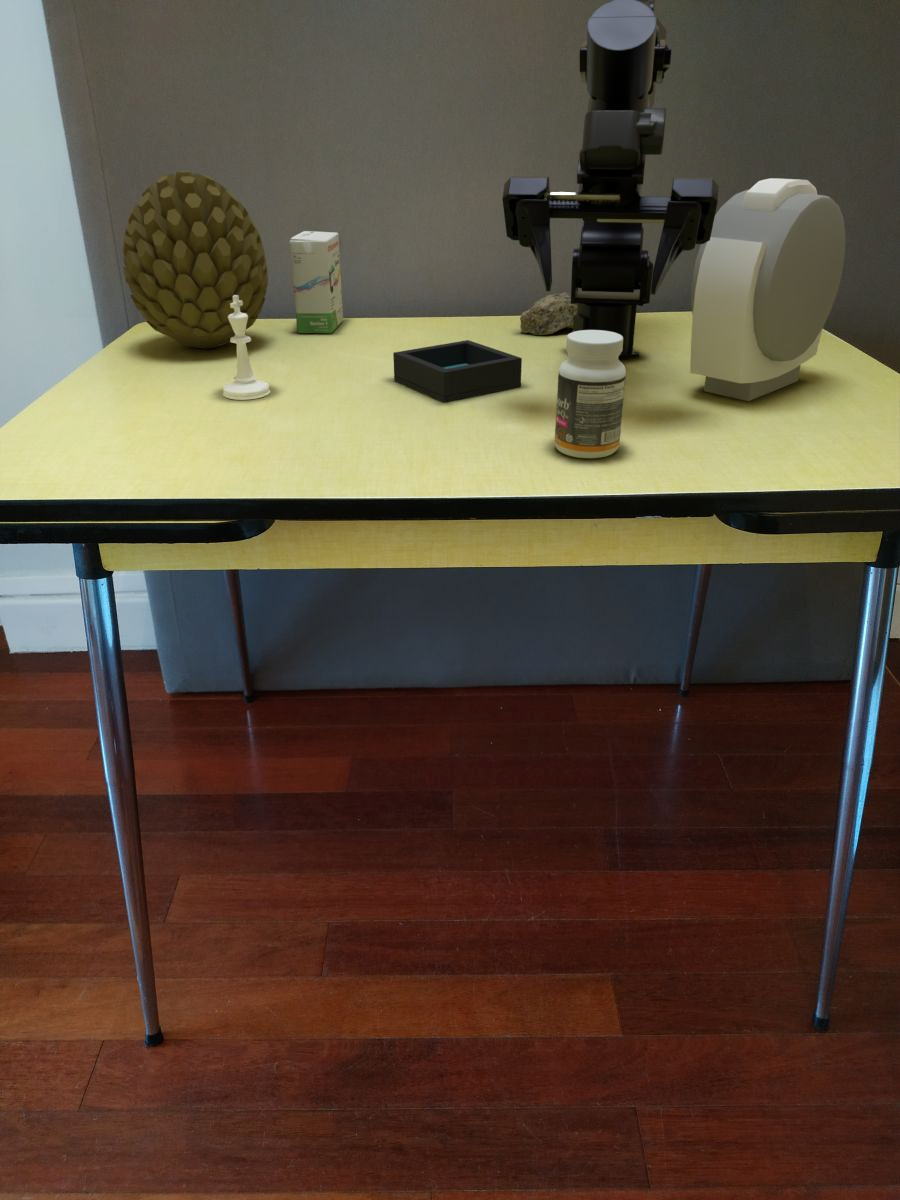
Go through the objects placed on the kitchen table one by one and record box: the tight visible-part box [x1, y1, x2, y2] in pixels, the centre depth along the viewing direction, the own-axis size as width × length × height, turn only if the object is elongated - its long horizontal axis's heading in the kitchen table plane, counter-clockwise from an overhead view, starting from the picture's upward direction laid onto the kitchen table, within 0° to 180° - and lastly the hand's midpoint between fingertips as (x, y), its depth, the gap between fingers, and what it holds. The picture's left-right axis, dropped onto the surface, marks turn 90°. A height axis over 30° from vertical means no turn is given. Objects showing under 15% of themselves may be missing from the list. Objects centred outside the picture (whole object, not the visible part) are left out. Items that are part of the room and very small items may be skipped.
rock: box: [519, 291, 578, 336], centre depth 120 cm, size 7×8×4 cm
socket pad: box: [392, 339, 523, 403], centre depth 99 cm, size 10×10×3 cm
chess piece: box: [222, 295, 271, 401], centre depth 94 cm, size 5×5×10 cm
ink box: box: [289, 230, 344, 334], centre depth 121 cm, size 8×5×12 cm, turn 175°
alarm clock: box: [689, 177, 846, 402], centre depth 93 cm, size 18×8×20 cm, turn 134°
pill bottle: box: [554, 330, 627, 459], centre depth 78 cm, size 6×6×10 cm
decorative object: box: [122, 170, 269, 350], centre depth 110 cm, size 17×17×20 cm
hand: (600, 290), depth 80 cm, fingers open, 9 cm apart
